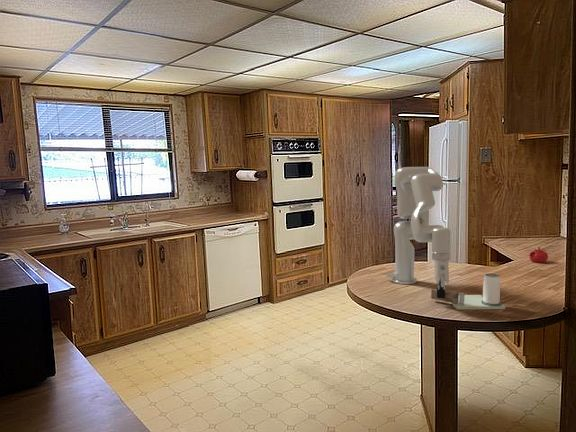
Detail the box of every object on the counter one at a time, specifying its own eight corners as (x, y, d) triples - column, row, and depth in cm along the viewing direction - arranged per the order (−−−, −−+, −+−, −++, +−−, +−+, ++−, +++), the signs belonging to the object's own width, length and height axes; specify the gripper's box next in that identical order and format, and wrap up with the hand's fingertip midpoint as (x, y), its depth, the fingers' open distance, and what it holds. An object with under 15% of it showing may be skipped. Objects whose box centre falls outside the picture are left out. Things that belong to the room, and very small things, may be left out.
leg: (458, 302, 189) (458, 293, 188) (456, 303, 187) (456, 294, 187) (433, 297, 196) (433, 288, 196) (431, 298, 195) (431, 289, 194)
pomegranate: (548, 261, 265) (549, 246, 264) (547, 264, 257) (548, 249, 256) (529, 259, 270) (530, 244, 269) (528, 262, 262) (529, 247, 261)
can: (480, 300, 191) (480, 273, 189) (494, 299, 191) (495, 272, 190) (487, 305, 184) (488, 277, 183) (502, 304, 185) (503, 276, 183)
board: (456, 309, 184) (457, 292, 183) (444, 297, 200) (445, 282, 199) (505, 309, 183) (505, 292, 183) (489, 297, 199) (489, 281, 198)
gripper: (452, 259, 180) (452, 303, 181) (447, 253, 194) (447, 293, 196) (433, 259, 181) (433, 302, 183) (430, 253, 196) (430, 293, 197)
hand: (440, 297), depth 189 cm, fingers closed
